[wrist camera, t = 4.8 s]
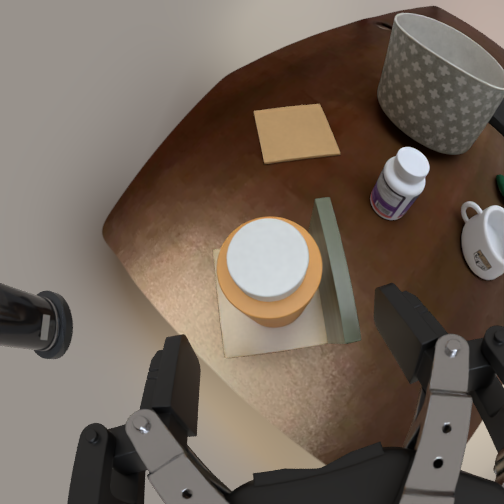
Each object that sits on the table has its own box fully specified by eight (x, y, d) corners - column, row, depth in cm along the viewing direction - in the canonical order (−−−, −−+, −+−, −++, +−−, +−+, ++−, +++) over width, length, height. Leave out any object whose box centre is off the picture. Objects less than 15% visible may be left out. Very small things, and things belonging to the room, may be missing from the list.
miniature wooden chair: (242, 353, 30) (202, 364, 15) (232, 276, 33) (190, 219, 17) (322, 341, 29) (361, 340, 14) (308, 264, 32) (329, 196, 17)
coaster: (264, 164, 37) (264, 162, 37) (253, 113, 41) (253, 111, 40) (340, 155, 36) (340, 153, 36) (319, 105, 40) (319, 103, 40)
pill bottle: (398, 185, 34) (424, 142, 25) (409, 220, 32) (442, 182, 23) (364, 186, 34) (385, 140, 25) (374, 222, 33) (401, 182, 24)
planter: (390, 77, 42) (407, 5, 25) (469, 125, 37) (505, 62, 20) (357, 123, 38) (379, 28, 21) (457, 186, 33) (516, 111, 16)
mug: (508, 254, 29) (530, 240, 23) (485, 295, 28) (511, 285, 22) (465, 196, 32) (485, 177, 27) (438, 231, 31) (460, 212, 26)
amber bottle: (245, 332, 21) (214, 323, 11) (237, 267, 22) (204, 212, 13) (312, 321, 20) (338, 304, 11) (301, 257, 22) (313, 194, 13)
